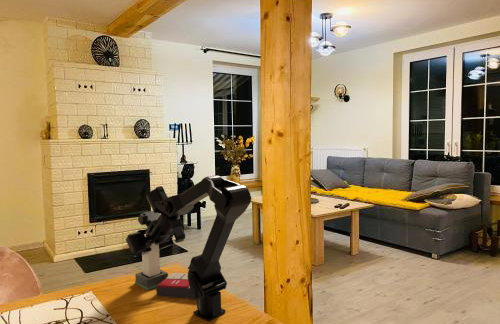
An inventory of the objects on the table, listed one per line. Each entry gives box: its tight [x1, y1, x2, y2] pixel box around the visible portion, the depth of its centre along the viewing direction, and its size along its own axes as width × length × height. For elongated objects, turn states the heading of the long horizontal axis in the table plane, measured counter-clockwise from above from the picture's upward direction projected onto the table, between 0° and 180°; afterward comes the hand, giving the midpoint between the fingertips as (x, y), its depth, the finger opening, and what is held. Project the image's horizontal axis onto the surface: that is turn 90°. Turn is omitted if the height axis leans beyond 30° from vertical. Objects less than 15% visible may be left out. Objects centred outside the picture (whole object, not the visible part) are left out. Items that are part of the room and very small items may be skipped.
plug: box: [141, 230, 161, 277], centre depth 122 cm, size 4×4×14 cm
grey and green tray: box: [134, 269, 169, 291], centre depth 123 cm, size 8×8×3 cm
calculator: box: [155, 272, 213, 301], centre depth 117 cm, size 11×4×15 cm
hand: (148, 251), depth 123 cm, fingers closed on plug, 4 cm apart
